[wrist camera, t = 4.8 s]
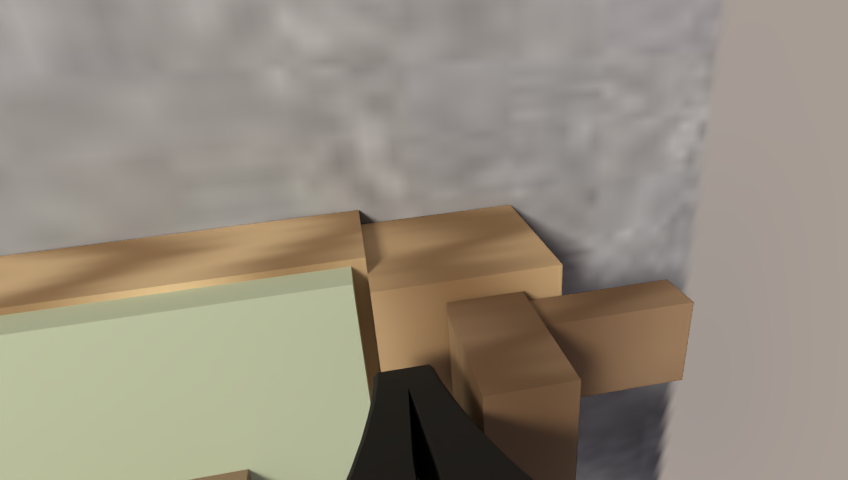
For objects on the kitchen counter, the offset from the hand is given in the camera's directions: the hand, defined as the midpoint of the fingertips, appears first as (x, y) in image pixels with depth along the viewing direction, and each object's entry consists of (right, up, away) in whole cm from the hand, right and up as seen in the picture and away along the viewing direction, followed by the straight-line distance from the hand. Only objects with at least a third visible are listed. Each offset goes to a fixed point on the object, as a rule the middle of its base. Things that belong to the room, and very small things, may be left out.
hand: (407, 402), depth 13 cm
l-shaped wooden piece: (+4, +1, +2) cm, 5 cm away
